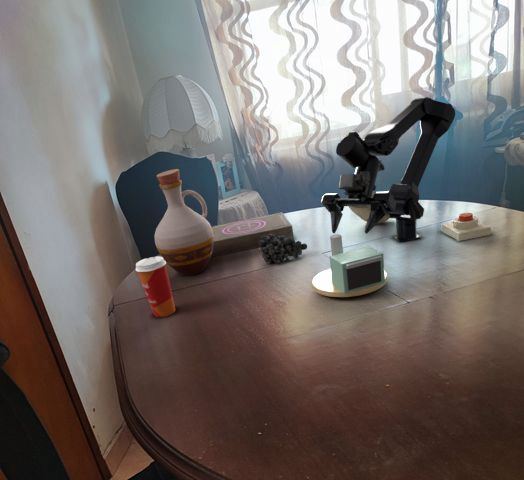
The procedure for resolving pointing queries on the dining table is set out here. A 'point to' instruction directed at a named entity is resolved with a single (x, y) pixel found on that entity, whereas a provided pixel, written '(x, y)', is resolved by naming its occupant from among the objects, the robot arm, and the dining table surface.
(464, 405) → the dining table surface
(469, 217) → the button
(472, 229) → the box
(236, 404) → the dining table surface
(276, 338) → the dining table surface
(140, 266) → the paper cup
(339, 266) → the round platter with block
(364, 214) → the bowl
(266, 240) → the fruit
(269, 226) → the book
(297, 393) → the dining table surface
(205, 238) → the jug
